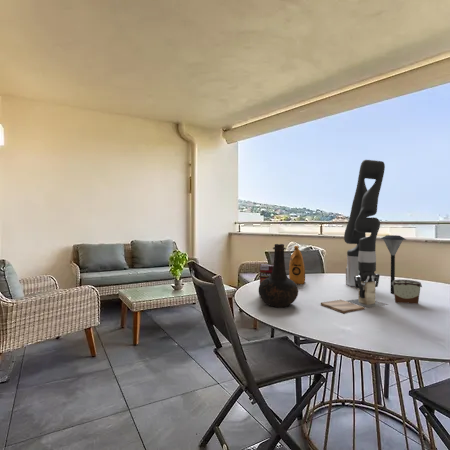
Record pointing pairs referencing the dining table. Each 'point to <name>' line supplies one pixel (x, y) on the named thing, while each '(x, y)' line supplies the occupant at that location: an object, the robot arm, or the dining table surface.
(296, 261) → the coffee package
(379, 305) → the tile
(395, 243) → the solar garden light
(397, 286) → the food container
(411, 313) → the dining table surface
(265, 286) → the glass bottle
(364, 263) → the robot arm
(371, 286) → the birch block
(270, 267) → the supplement box
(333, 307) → the walnut board
